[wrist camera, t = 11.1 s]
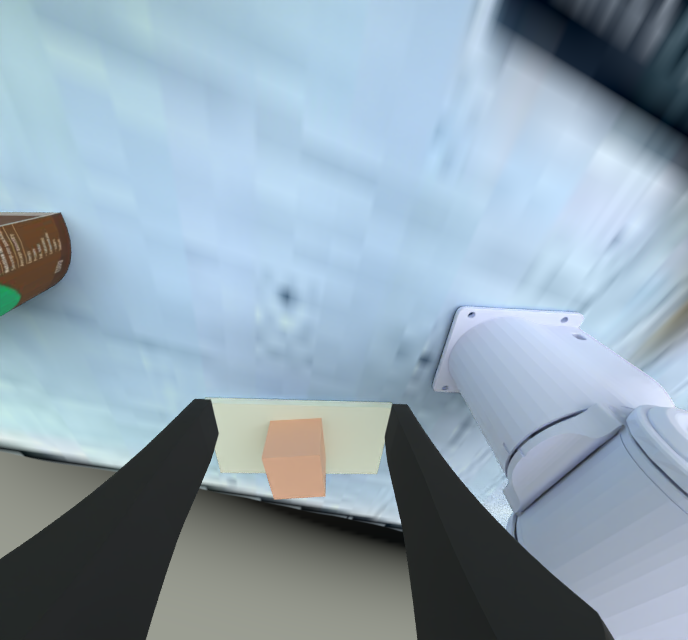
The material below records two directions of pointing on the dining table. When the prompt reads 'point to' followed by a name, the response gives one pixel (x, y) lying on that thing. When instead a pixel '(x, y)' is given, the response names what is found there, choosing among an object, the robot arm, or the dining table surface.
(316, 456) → the light orange block
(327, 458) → the mat
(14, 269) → the food container
